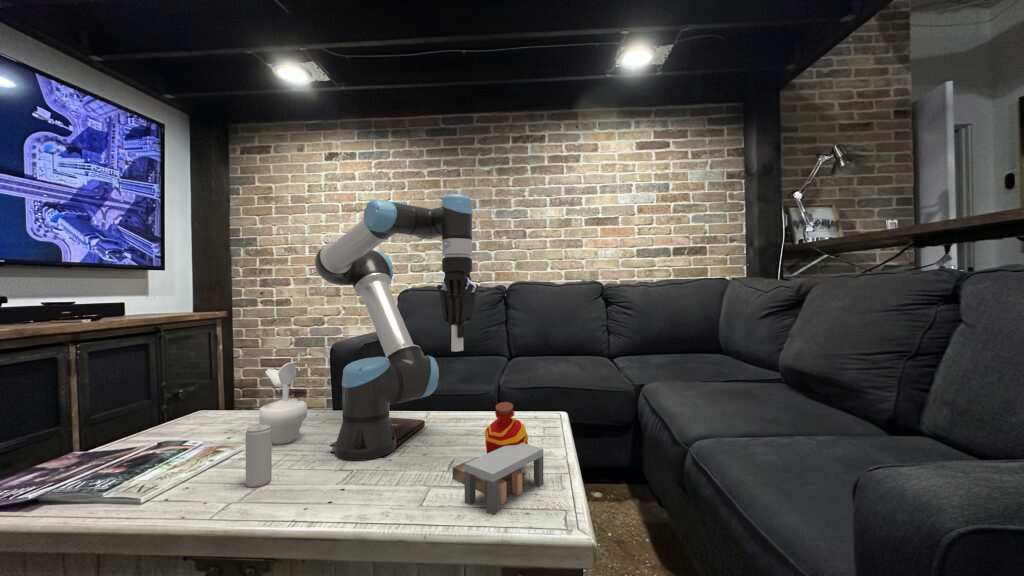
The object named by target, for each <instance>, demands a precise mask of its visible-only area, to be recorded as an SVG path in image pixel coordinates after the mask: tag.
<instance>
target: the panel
mask: <svg viewBox="0 0 1024 576" xmlns="http://www.w3.org/2000/svg"><path fill="white" fill-rule="evenodd" d="M478 457H479V456H476V457H474V458H472V459H470V460H468V461H465V462H462V463H460V464H457V465H455V466H453V467H452V480H454V481H457V482H459V483H461V484H463V485H465V463H467V462H469V461H472V460H474V459H476V458H478ZM515 471H516V470H515ZM515 471H514V472H515ZM512 473H513V472H512ZM512 473H510V474H508V475H506V476H504V477H502V478H500V479H502V480H504V481H506V497H507V496H508V495H510V494H513V493H512ZM525 476H526V473H524V472H522V488H523V487H525V484H526V483H525V482H526V481H525V480H526V479H525V478H526V477H525ZM500 479H498V480H500ZM475 480H476V491H478V492H480V493H483V494H485V495H487V480H486V479H483V478H481V477H478V476H475Z"/></svg>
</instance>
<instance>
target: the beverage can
mask: <svg viewBox="0 0 1024 576" xmlns="http://www.w3.org/2000/svg"><path fill="white" fill-rule="evenodd" d="M270 427H271V425H269V424H260V423H259V424H255V425H251V426H249V427H247V428H246V432H245V485H246V486H247V487H249V488H259V487H262V486H265V485H267V484H268V483H270V481H271V480H272V474H273V473H272V467H273V466H272V463H273V462H272V460H273V459H272V458H273V457H272V453H273V452H272V450H273V449H272V446H273V445H272V444H273V443H272V429H271V428H270Z"/></svg>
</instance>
